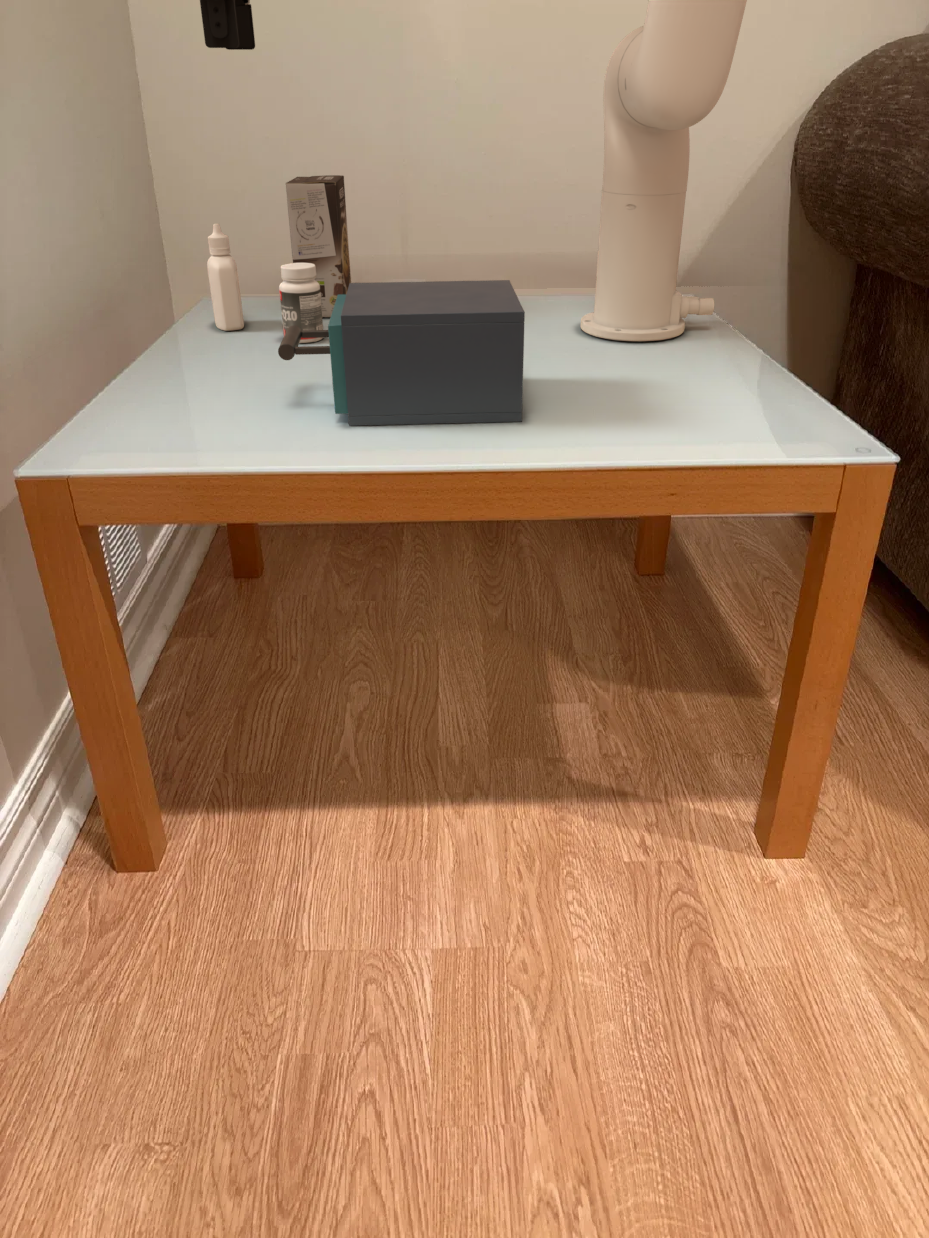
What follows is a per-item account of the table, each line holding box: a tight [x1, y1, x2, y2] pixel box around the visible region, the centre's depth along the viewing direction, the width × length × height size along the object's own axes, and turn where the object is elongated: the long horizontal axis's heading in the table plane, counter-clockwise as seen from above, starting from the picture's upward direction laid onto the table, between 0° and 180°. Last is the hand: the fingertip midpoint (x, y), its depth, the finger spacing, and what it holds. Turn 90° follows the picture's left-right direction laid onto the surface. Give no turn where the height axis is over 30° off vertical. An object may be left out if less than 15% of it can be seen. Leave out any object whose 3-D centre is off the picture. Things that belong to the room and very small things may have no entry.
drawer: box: [277, 294, 348, 415], centre depth 87 cm, size 20×13×8 cm, turn 93°
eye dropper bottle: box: [206, 223, 245, 332], centre depth 113 cm, size 4×6×12 cm
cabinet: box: [341, 279, 526, 427], centre depth 87 cm, size 16×14×10 cm
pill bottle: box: [278, 262, 324, 344], centre depth 108 cm, size 5×5×8 cm
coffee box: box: [285, 174, 352, 318], centre depth 119 cm, size 9×6×16 cm
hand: (231, 48), depth 94 cm, fingers open, 9 cm apart
